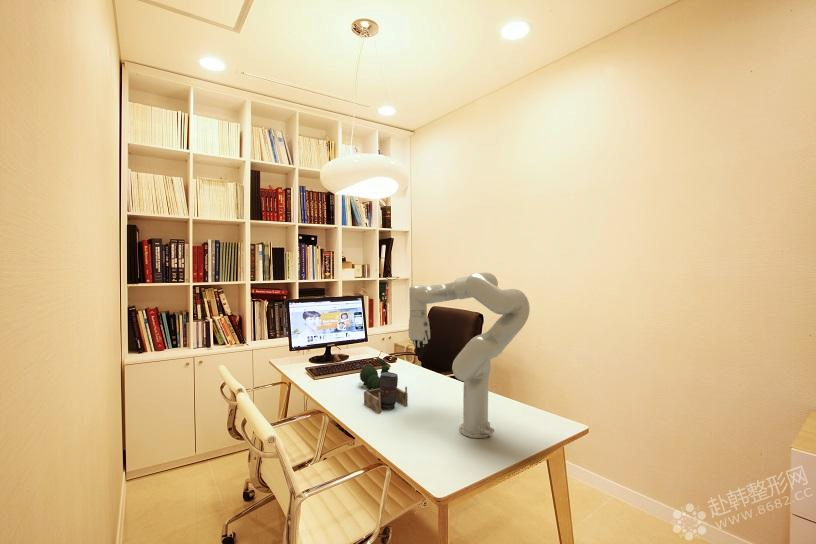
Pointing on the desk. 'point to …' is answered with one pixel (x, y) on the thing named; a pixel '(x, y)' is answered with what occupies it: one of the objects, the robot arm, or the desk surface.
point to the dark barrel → (388, 390)
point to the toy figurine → (372, 375)
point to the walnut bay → (374, 399)
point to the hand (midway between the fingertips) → (419, 355)
